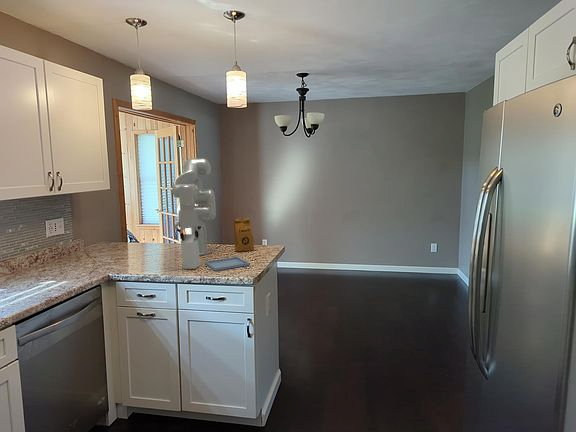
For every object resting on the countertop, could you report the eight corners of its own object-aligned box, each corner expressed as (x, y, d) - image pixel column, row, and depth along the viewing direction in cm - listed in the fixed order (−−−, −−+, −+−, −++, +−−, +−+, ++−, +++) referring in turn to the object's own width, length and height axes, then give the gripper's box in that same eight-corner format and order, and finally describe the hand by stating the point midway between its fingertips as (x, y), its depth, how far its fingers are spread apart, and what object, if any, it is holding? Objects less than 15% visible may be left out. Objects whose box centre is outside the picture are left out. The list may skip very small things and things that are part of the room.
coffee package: (255, 251, 259) (253, 218, 257) (236, 253, 256) (234, 219, 253) (252, 248, 269) (250, 216, 266) (234, 250, 265) (232, 218, 263)
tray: (205, 264, 228) (204, 261, 228) (237, 259, 237) (237, 256, 237) (215, 271, 210) (215, 268, 210) (249, 265, 219) (249, 262, 219)
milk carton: (194, 269, 216) (191, 235, 213) (183, 269, 218) (179, 235, 215) (200, 265, 223) (197, 232, 220) (188, 265, 224) (185, 233, 221)
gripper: (200, 205, 223) (203, 236, 225) (169, 208, 215) (172, 240, 217) (204, 206, 216) (206, 238, 219) (172, 209, 208) (175, 242, 211)
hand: (189, 238), depth 218 cm, fingers closed on milk carton, 7 cm apart
